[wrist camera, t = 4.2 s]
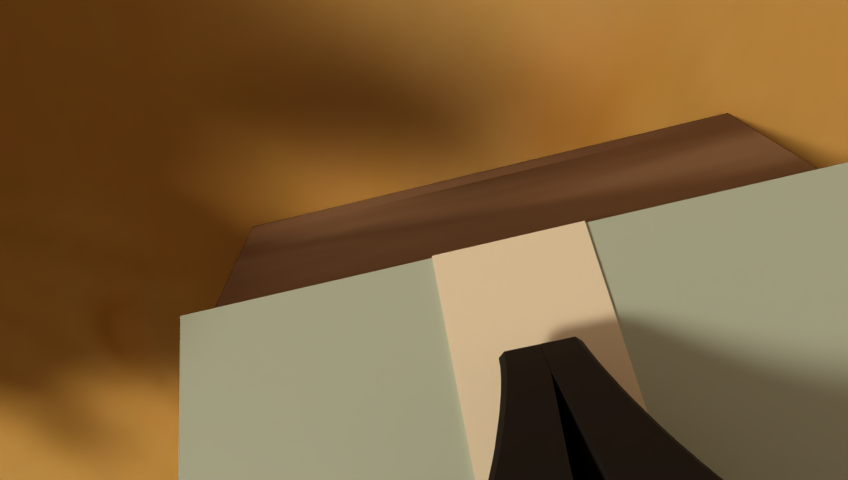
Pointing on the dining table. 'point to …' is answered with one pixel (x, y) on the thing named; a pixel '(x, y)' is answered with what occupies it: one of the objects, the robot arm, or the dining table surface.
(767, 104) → the dining table surface
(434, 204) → the walnut box
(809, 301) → the lid
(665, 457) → the robot arm
